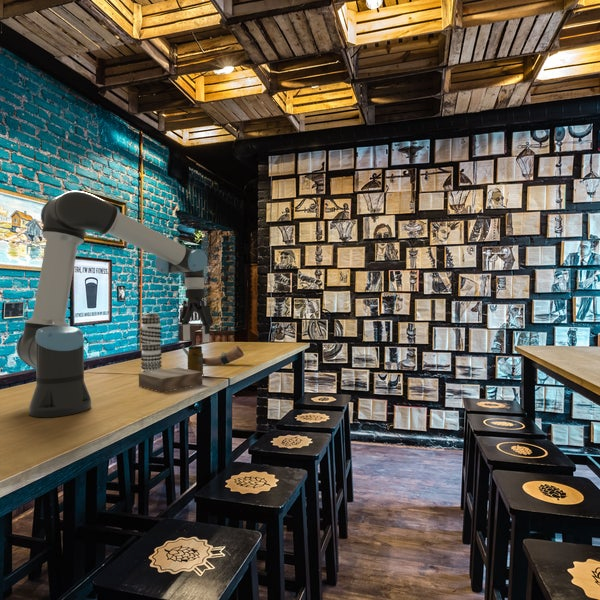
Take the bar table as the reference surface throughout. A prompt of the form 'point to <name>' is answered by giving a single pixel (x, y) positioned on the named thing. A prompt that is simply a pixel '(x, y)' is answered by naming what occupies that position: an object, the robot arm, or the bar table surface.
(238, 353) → the drinking horn
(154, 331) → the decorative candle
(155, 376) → the block
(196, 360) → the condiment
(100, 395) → the bar table surface
